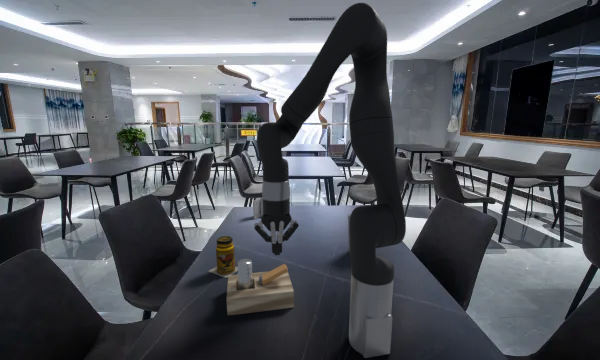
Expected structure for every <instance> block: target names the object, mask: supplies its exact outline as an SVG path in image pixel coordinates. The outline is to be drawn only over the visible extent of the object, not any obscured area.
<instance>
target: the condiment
mask: <svg viewBox="0 0 600 360" xmlns="http://www.w3.org/2000/svg"><path fill="white" fill-rule="evenodd" d="M233 240H234V239H233V237H232V236H228V235H224V236H220V237H217V239H216V241H215V242H216V247H215V255H216V257H215V259H216V266H215V267H214V268H211V269H209V270H208V272H209V273H211V274H215V275H218V276H220V277H223V278H227V279H228V275H234V274H235V273H236V272H238V266H236V257H235V245H234V242H233Z"/></svg>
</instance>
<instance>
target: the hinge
mask: <svg viewBox="0 0 600 360" xmlns="http://www.w3.org/2000/svg"><path fill="white" fill-rule="evenodd" d="M252 206H253V209H252V210H253V220H256V218H257V219H259V218H261V217H262V215H263V202H262V197H256V198H255V200H253V202H252ZM260 216H261V217H260ZM258 217H259V218H258Z"/></svg>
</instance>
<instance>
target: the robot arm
mask: <svg viewBox="0 0 600 360" xmlns="http://www.w3.org/2000/svg"><path fill="white" fill-rule="evenodd" d="M387 31H388V30H387V27H386V25H385V22H384V21H383V20H382V18H381V17H380V15H379V14H378V13H377V10H376V9H374V8H373V6H371V4H368V3H366V2H357V3H354V4H352V5H350V6H348V8H346V9H345V10H344V11H343V12H342V14H341V15H340V16H339V18H338V19H337V21H336V23H335V24H334V26H333V28H332V29H331V31H330V33H329V35H328V36H327V38H326V40H325V42H324V43H323V45H322V47H321V49H320V50H319V52H318V54H317V56H316V57H315V59H314V61H313V62H312V64H311V66H310V67H309V69H308V71H307V72H306V74H305V75H304V77H303V78H302V80H301V81H300V82H299V83H298V85H297V86H296V87H295V88H294V89H293V91H292V93H290V95H289V96H288V97H287V99H286V100H285V101H284V102H283V104H282V106H281V108H280V113H281V115H280V117H279V118H278V119H277V121H275V122H273V121H269V122H265V123H263V124H262V125H260V126H259V128H258V130H257V134H256V146H257V150H258V153H259V158H260V160H261V164H262V186H261V192H262V193H261V196H262V202H263V215H262V217H260V221H258V222H256V223H254V224H253V227H254V230H255V231H256V232H257V234H259V236H260V237H261V238H262V239H263V240H264V241H265V242H266V243H271V253H272V254H274V256H280V255H281V254H282V253H283V243H284V242H286V241H289V240H290V238H291V237H292V235H293V234H294V233H295V232H296V230H297V229H298V227H299V226H300V225H299V223H298V221H297V220H294V219H293V218H292V215H291V212H290V211H291V210H290V209H291V208H290V207H291V205H290V203H291V202H290V201H291V198H290V197H291V192H290V188H291V187H290V182H289V181H290V180H289V179H290V177H289V176H290V175H289V174H290V173H289V172H290V171H289V170H290V169H289V167H290V166H289V161H288V160H287V159H285V158H284V157H283V152H282V149H285V148H286V147H287V146H289V145H290V144H291V143H292V142H293V141H294V139H295V138H296V137H297V135H298V133H299V131H300V130H301V129H302V127H303V124H305V122H306V121H307V120H308V119H309V118H310V116H312V114H313V113H314V112H315V111H316V110H317V109H318V108H319V106H320V105H321V103H322V102H323V100H324V98H325V97H326V94H327V92H328V89H329V86H330V85H331V82H332V80H333V77H334V76H335V73H336V72H337V71H338V69H339V68H340V66H341V65H342V64H343V63H344V62H345V61H346V60H347V59H348V58H349V57H350V56H351V60H352V64H353V70H354V79H355V80H354V82H355V84H354V85H355V86H354V91H353V92H354V93H353V95H352V100H351V104H350V109H349V115H348V118H349V119H348V123H349V125H348V126H349V133H350V136H349V137H350V146H351V148H352V150H353V153H354V154H355V156H356V158H357V159H358V160H359V162H360V163H361V165H362V166H363V168H364V169H365V170H366V172H367V173H368V175H369V176H370V179H371V181H372V184H373V186H374V190H375V196H376V204H368V205H359V206H356V207H354V209H353V210H352V211H351V213H350V214H351V216H350V223H349V235H350V252H349V260H350V265H351V266H350V267H351V271H350V272H351V273H350V275H351V276H350V294H349V295H350V296H349V319H348V320H349V324H348V342H349V344H350V346H351V347H352V348H353V349H354V350H355V352H358V354H360V355H362V356H363V358H364V359H368V358H373V357H380V356H385V355H390V353H391V346H392V345H391V343H392V332H393V331H392V329H393V316H392V308H393V307H392V306H393V292H394V279H395V266H394V264H393V263H392V262H391V260H389V259H388V258H386V257H383V256H382V255H378V254H376V253H377V251H376V249H381V248H385V247H391V246H396V245H400V244H401V243H402V242H403V241H404V238H405V237H406V232H407V231H406V230H407V226H406V225H407V223H406V222H407V221H406V213H405V209H404V203H403V202H404V201H403V197H402V192H401V187H400V183H399V177H398V176H399V175H398V167H397V158H396V150H395V132H394V130H395V129H394V122H393V121H394V120H393V119H394V118H393V111H392V103H391V94H390V89H389V88H390V86H389V82H388V73H387V72H388V70H387V68H388V67H387V66H388V65H387V64H388V61H387V60H388V32H387ZM264 227H265V228H266V229H267V230H268V231H269V232H270V235H269V234H268V233H267V232H266V231H265V229H264ZM287 227H288V228H287ZM286 228H287V229H286ZM285 230H286V231H285ZM284 231H285V232H284ZM349 235H348V236H349Z"/></svg>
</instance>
